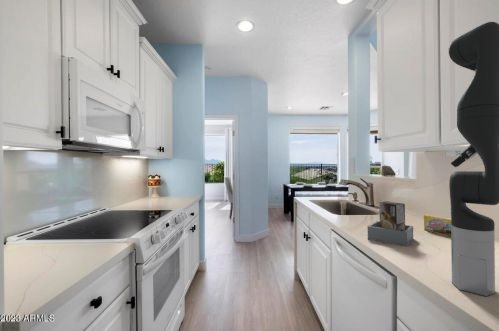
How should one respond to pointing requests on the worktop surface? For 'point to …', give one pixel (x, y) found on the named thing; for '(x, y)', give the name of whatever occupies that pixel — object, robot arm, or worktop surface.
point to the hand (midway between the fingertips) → (453, 165)
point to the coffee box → (392, 215)
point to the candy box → (437, 225)
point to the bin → (390, 234)
